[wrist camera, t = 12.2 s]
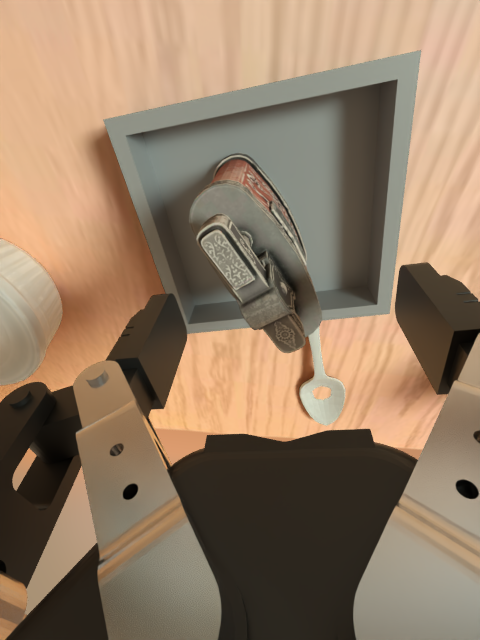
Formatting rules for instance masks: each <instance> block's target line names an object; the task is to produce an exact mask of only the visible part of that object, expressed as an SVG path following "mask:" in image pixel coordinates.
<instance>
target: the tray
mask: <svg viewBox="0 0 480 640" xmlns="http://www.w3.org/2000/svg"><path fill="white" fill-rule="evenodd" d="M420 55H421V50H420V51H415V52H410V53H406V54H401V55H397V56H392V57H388V58H383V59H378V60H374V61H369V62H365V63H360V64H356V65H351V66H346V67H342V68H337V69H333V70H328V71H324V72H319V73H315V74H310V75H305V76H301V77H296V78H292V79H287V80H283V81H278V82H273V83H269V84H264V85H260V86H255V87H251V88H246V89H241V90H237V91H232V92H228V93H223V94H219V95H214V96H209V97H205V98H200V99H196V100H191V101H187V102H182V103H177V104H173V105H168V106H164V107H159V108H155V109H150V110H145V111H141V112H136V113H132V114H127V115H123V116H118V117H113V118H109V119H104V120H103V121H104V123H105V126H106V129H107V132H108V134H109V137H110V140H111V143H112V146H113V148H114V151H115V154H116V157H117V160H118V162H119V165H120V168H121V171H122V173H123V176H124V179H125V182H126V185H127V187H128V190H129V193H130V196H131V198H132V201H133V204H134V207H135V210H136V212H137V215H138V218H139V221H140V224H141V226H142V229H143V232H144V235H145V237H146V240H147V243H148V246H149V249H150V251H151V254H152V257H153V260H154V263H155V265H156V268H157V271H158V274H159V276H160V279H161V282H162V285H163V288H164V290H165V293H166V294H169V293H172V294H174V296H175V297H176V300H177V303H178V306H179V308H180V311H181V314H182V317H183V319H184V322H185V325H186V329H187V334H190V333H200V332H210V331H220V330H231V329H241V328H251V327H250V326H249V325H248V323H247V322H246V321H245V320H244V318H243V316H242V314H241V312H240V308H239V305H238V303H237V301H236V299H235V298H234V297H233V296H232V295H231V294H230V293H229V291H228V290H227V289H226V287H225V286H224V284H223V283H222V281H221V280H220V278H219V277H218V275H217V274H216V272H215V271H214V269H213V268H212V267H211V265H210V264H209V262H208V260H207V258H206V256H205V254H204V253H203V252H202V250H201V249H200V247H199V246H198V244H197V239H196V237H195V235H194V233H193V231H192V229H191V225H190V222H189V217H190V209H191V207H192V205H193V202H194V200H195V198H196V197H197V196H198V194H199V193H200V192H201V191H202V190H203V189H204V188H205V187H206V186H207V185H209V184H211V182H212V180H213V174H214V172H215V170H216V168H217V166H218V165H219V163H220V162H221V161H222V160H223V159H224V158H225V157H227V156H229V155H231V154H234V153H243V154H247V155H249V156H250V157H251V158H253V159H254V160H255V162H256V163H257V164H258V165H259V166H260V167H261V168H262V170H263V171H264V172H265V173H266V174H267V175H268V176H269V178H270V179H271V180H272V181H273V183H274V184H275V186H276V187H277V189H278V190H279V192H280V193H281V195H282V196H283V198H284V199H285V201H286V202H287V204H288V206H289V208H290V210H291V212H292V214H293V216H294V218H295V221H296V223H297V225H298V227H299V230H300V233H301V236H302V239H303V242H304V245H305V249H306V253H307V260H306V263H307V264H306V267H307V271H308V273H309V275H310V277H311V280H312V283H313V286H314V289H315V292H316V295H317V298H318V301H319V304H320V307H321V311H322V320H332V319H342V318H352V317H362V316H372V315H382V314H390V306H391V297H392V289H393V281H394V272H395V264H396V256H397V247H398V239H399V231H400V222H401V214H402V205H403V197H404V189H405V180H406V172H407V164H408V155H409V147H410V139H411V130H412V122H413V114H414V105H415V97H416V89H417V80H418V72H419V63H420Z"/></svg>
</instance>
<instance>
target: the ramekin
mask: <svg viewBox="0 0 480 640" xmlns="http://www.w3.org/2000/svg"><path fill="white" fill-rule="evenodd" d="M62 307H63V306H62V302H61V298H60V295H59V292H58V289H57V287H56V285H55V283H54V281H53V279H52V278H51V276H50V275H49V274H48V272H47V271H46V270H45V268H44V267H43V266H42V265H41V264H40V263H39V262H38V261H37V260H36V259H35V258H33V257H32V256H31V255H30V254H28V253H27V252H26V251H24V250H23V249H21V248H20V247H18V246H16V245H15V244H13V243H11V242H9V241H6V240H4V239H1V238H0V385H8V384H14V383H17V382H20V381H24V380H25V379H27V378H28V377H29V376H31V375H32V374H33V373H34V372H35V371H36V370H37V369H38V367H39V366H40V365H41V363H42V361H43V360H44V357H45V354H46V349H47V347H48V346H49V344H50V342H51V340H52V338H53V337H54V335H55V333H56V331H57V329H58V328H59V326H60V323H61V320H62V314H63V310H62Z"/></svg>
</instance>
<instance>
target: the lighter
mask: <svg viewBox="0 0 480 640" xmlns="http://www.w3.org/2000/svg"><path fill="white" fill-rule="evenodd" d="M189 222H190V225H191V229H192V231H193V233H194V235H195V237H196V239H197V244H198V246H199V247H200V249H201V250H202V252H203V253H204V254H205V256H206V258H207V260H208V262H209V264H210V265H211V267H212V268H213V269H214V271H215V272H216V274H217V275H218V277H219V278H220V280H221V281H222V283H223V284H224V286H225V287H226V289H227V290H228V291H229V293H230V294H231V295H232V296H233V297H234V298H235V299H236V301H237V303H238V305H239V308H240V312H241V314H242V316H243V318H244V320H245V321H246V322H247V323H248V325H249V326H250V327H251V328H252V329H254V330H257V329H259V330H261V329H263V330H264V331H265V332H266V334H267V335H268V336H269V338H270V339H271V340H272V341H273V343H274V344H275V345H276V347H277V348H278V349H279V350H280V351H282V352H284V353H291V352H294V351H296V350H299V349H300V348H302V347H303V346H304V345H305V343H306V340H305V337H307V336H309V335H310V334H312V333H314V331H315V330H316V329H317V328H318V327H319V326H320V323H321V321H322V311H321V307H320V304H319V301H318V298H317V295H316V292H315V289H314V286H313V283H312V280H311V277H310V275H309V273H308V271H307V267H306V264H307V263H306V260H307V253H306V249H305V245H304V242H303V239H302V236H301V233H300V230H299V227H298V225H297V223H296V221H295V218H294V216H293V214H292V212H291V210H290V208H289V206H288V204H287V202H286V201H285V199H284V198H283V196H282V195H281V193H280V192H279V190H278V189H277V187H276V186H275V184H274V183H273V181H272V180H271V179H270V178H269V176H268V175H267V174H266V173H265V172H264V171H263V170H262V168H261V167H260V166H259V165H258V164H257V163H256V162H255V160H254V159H253V158H251V157H250V156H249V155H247V154H243V153H234V154H231V155H229V156H227V157H225V158H224V159H223V160H222V161H221V162H220V163H219V165H218V166H217V168H216V170H215V172H214V174H213V180H212V182H211V184H209V185H207V186H206V187H205V188H204V189H203V190H202V191H201V192H200V193H199V194H198V196H197V197H196V198H195V200H194V202H193V205H192V207H191V209H190V217H189Z"/></svg>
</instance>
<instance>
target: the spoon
mask: <svg viewBox="0 0 480 640" xmlns="http://www.w3.org/2000/svg"><path fill="white" fill-rule="evenodd" d="M308 337H309V341H310V346H311V351H312V355H313V362H314V376H313V378H311V379H310V380H308V381H306V382H304V383H303V384H302V385H301V387H300V389H299V396H300V399H301V402H302V404H303V406H304V408H305V409H306V411H307V412H308V414H309V415H310V416H311V417H312V418H313V419H314V420H315V421H317V422H318V423H320V424H323V425H329V424H331V423H333V422H334V421H335V420H336V419H337V418H338V417H339V415H340V413H341V411H342V408H343V405H344V401H345V388H344V385H343V383H342V382H341V381H339V380H338V379H335V378H332V377H329V376H327V375H326V374H325V371H324V367H323V361H322V355H321V346H320V335H319V327H318V328H317V329H316V330H315V331H314V333H312V334H310V335H309V336H308ZM320 386H324V387H328V388H330V389H331V396H330V397H329V398H327V399H324V400H320V399H316V398H314V395H313V393H312V391H313V390H314V389H315V388H317V387H320Z"/></svg>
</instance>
